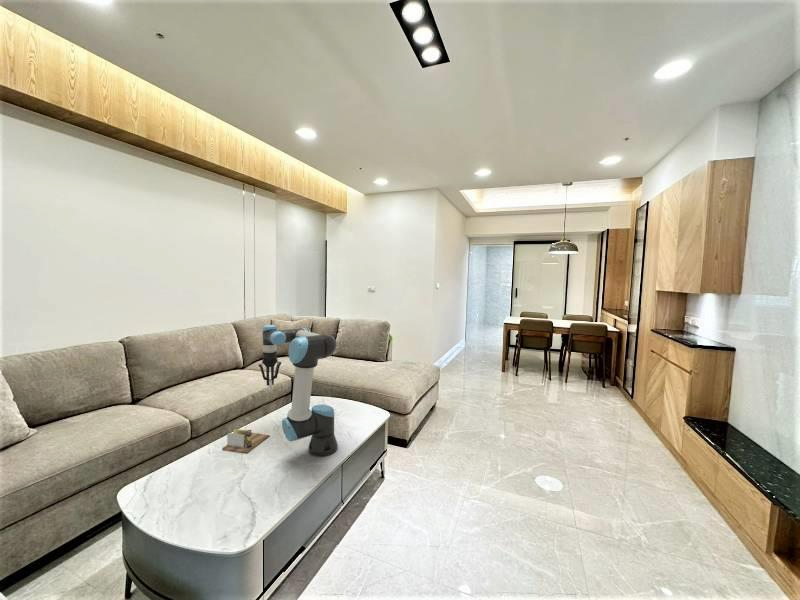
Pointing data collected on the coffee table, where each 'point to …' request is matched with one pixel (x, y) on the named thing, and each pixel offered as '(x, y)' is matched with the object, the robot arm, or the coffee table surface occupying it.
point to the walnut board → (256, 441)
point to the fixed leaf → (238, 440)
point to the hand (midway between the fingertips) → (270, 390)
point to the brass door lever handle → (243, 432)
